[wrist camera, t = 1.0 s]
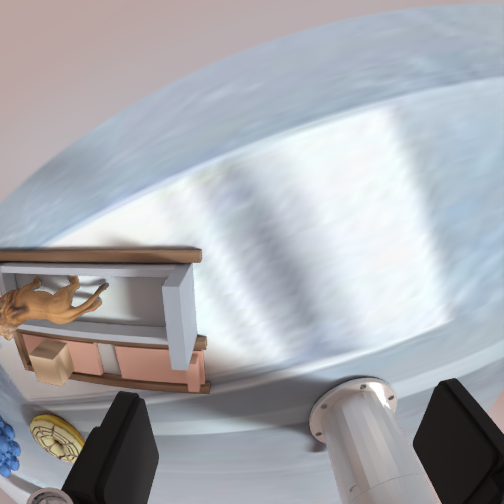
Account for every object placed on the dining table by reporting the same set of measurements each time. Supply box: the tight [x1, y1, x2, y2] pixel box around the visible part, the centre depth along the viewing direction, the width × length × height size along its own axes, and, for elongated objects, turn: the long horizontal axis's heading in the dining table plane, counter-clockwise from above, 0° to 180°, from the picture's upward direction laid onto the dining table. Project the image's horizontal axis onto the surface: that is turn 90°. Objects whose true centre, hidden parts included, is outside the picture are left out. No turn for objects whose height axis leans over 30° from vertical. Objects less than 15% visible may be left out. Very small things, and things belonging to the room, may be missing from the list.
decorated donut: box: [30, 414, 85, 463], centre depth 38 cm, size 10×11×4 cm
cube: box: [29, 340, 75, 386], centre depth 32 cm, size 4×4×4 cm
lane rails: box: [0, 250, 210, 394], centre depth 33 cm, size 18×28×1 cm, turn 90°
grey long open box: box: [0, 261, 197, 370], centre depth 30 cm, size 8×26×7 cm, turn 90°
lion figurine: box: [0, 275, 109, 340], centre depth 29 cm, size 15×5×9 cm, turn 102°
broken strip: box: [22, 333, 206, 392], centre depth 34 cm, size 5×26×3 cm, turn 90°
